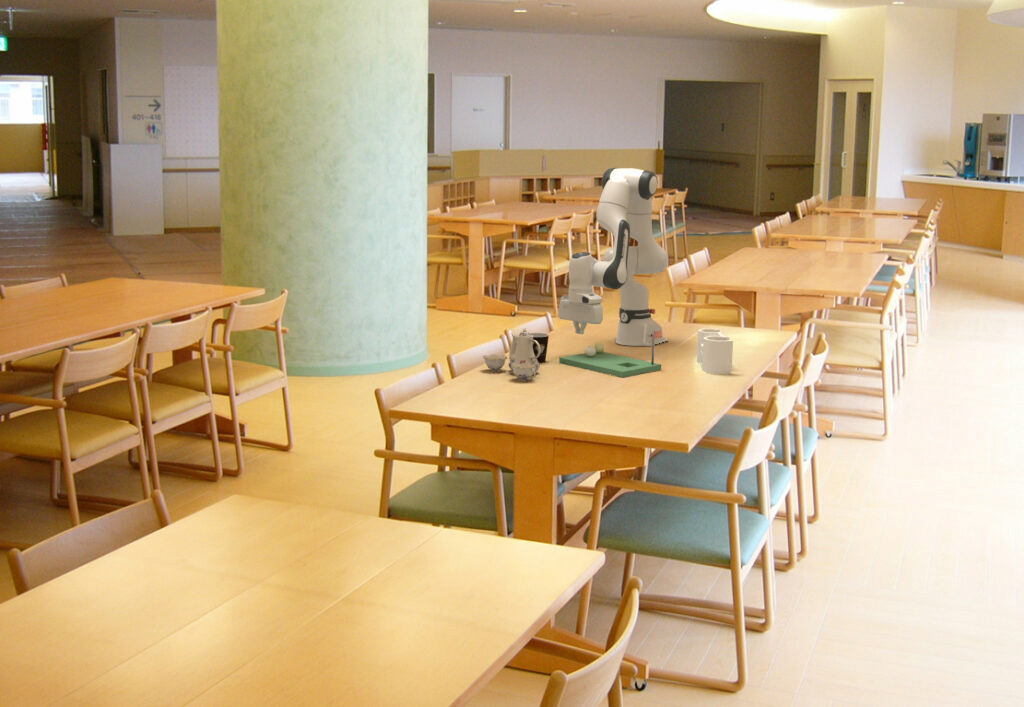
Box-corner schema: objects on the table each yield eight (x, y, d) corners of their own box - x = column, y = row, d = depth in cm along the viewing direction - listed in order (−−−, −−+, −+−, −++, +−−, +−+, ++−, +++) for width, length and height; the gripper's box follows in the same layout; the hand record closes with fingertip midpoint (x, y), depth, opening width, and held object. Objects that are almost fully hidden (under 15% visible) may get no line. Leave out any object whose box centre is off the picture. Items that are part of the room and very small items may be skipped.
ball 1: (590, 355, 412) (590, 344, 411) (598, 356, 409) (598, 346, 408) (582, 356, 410) (582, 345, 409) (590, 358, 407) (590, 347, 406)
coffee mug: (549, 359, 414) (549, 333, 412) (547, 364, 405) (548, 337, 403) (518, 358, 415) (518, 332, 413) (515, 363, 406) (516, 336, 404)
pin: (659, 362, 399) (660, 329, 397) (661, 363, 399) (662, 330, 396) (650, 364, 396) (651, 331, 394) (652, 364, 396) (653, 331, 393)
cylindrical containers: (693, 360, 415) (694, 328, 412) (719, 360, 415) (720, 328, 412) (704, 374, 390) (706, 340, 388) (732, 374, 390) (733, 341, 388)
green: (598, 356, 421) (598, 350, 420) (661, 369, 397) (661, 364, 396) (559, 362, 408) (559, 357, 407) (622, 377, 384) (622, 371, 384)
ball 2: (599, 351, 419) (599, 341, 418) (606, 353, 416) (606, 342, 415) (591, 352, 417) (591, 342, 416) (599, 354, 414) (599, 343, 413)
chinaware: (475, 375, 394) (471, 329, 390) (511, 364, 404) (507, 320, 400) (526, 389, 373) (522, 341, 369) (562, 377, 383) (559, 331, 379)
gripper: (554, 294, 415) (554, 331, 417) (593, 299, 400) (593, 337, 402) (566, 293, 419) (566, 329, 421) (605, 298, 404) (605, 336, 406)
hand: (579, 333), depth 412 cm, fingers closed
